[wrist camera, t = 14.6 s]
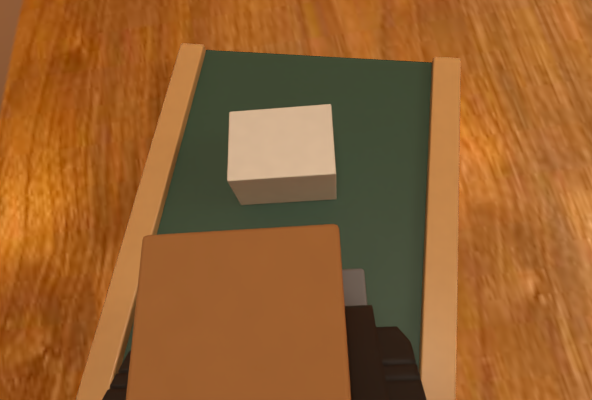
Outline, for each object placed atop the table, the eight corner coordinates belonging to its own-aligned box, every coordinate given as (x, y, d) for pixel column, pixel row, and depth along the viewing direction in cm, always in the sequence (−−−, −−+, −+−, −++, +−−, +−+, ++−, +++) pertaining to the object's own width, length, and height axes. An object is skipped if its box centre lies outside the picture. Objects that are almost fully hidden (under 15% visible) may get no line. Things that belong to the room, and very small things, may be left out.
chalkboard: (60, 517, 16) (36, 529, 14) (189, 61, 23) (180, 42, 22) (442, 600, 14) (453, 623, 13) (453, 77, 21) (461, 57, 20)
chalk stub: (241, 205, 19) (226, 181, 16) (241, 142, 20) (229, 111, 17) (336, 199, 18) (336, 173, 16) (332, 136, 19) (331, 103, 17)
